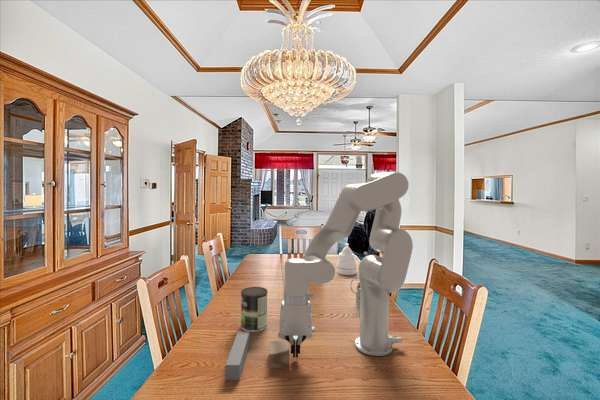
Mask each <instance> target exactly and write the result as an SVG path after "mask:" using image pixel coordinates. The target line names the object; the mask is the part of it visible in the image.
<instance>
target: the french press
mask: <svg viewBox="0 0 600 400" xmlns="http://www.w3.org/2000/svg"><path fill="white" fill-rule="evenodd" d="M363 255H365V256H364V257H366V256H368V255H369V253H368V252H367V251H363ZM356 278H357V279H358V278H359V273H356V277H354V278H353V279H351V281H350V285H352V283H353V281H355V280H356ZM350 290H351V292H352V293H353V294H355V295H356V296H355V302H354V303H353V304H354V306H355V307H356V308H359V309H360V295H361V293H360V281H359V282H358V283H357V286H356V291H354V290H353V287H350Z"/></svg>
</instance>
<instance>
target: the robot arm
mask: <svg viewBox="0 0 600 400" xmlns="http://www.w3.org/2000/svg"><path fill="white" fill-rule="evenodd" d="M409 184H410V183H409V180H408V178H407V176H406V175H405V174H403V173H402V172H399V171H387V172H377V173H372V174H370V175H369V176H368V177H367V180H366V183H351V184H347V185H345V186H344V187H343V188H342V190H341V191H340V193H339V195H338V196H337V200H336V201H335V204H334V206H333V208H332V209H331V213H330V215H329V217H328V219H327V220H326V223H325V224H324V225H323V226H322V228H320V229H319V230H318V232H317V233H316V234H315V235H314V236H313V238H312V239H311V242H310V243H309V244H308V246H307V249H306V250H305V253H304V254H303V258H299V257H292V258H288V259H286V261H285V263H284V279H283V280H284V283H283V284H284V286H283V288H284V290H283V295H284V296H283V297H284V298H283V300H282V301H281V305H280V314H279V332H278V333H279V335H278V338H280V339H284V340H287V341H288V344H289V345H290V354H292V358H293V359H295V358H296V359H297V358H299V354H301V345H302V343H303V342H304V341H305V340H306V339H307V340H308V339H312V338H313V337H314V336H313V331H312V326H313V316H312V315H313V313H312V305H311V301H310V300H314V297H313V296H314V295H313V294H310V293H309V284H310V283H311V284H327V283H330V282H331V281H332V280H333V279H334V277H335V275H336V268H335V266H334V265H333V263H332V262H331V261H329V260H328V259H326V257H327V254H328V253H329V252H330V250H331V248H332V247H333V246H334V245H335V244H336V243H337V242H340V241H341V240H344V239H345V238H347V237H349V236H350V235H351V233H352V231H353V229H354V227H355V225H356V222H357V220H358V218H359V216H360V214H361V212H371V211H374V210H375V214H374V219H373V222H372V227H371V231H370V235H369V239H368V241H369V245H370V247H371V248H372V250H374V251H376V252H378V253H380V254H382V256H379V255H376V254H368V255H366V257H365V256H363V258H362V259H361V260H360V262H359V264H358V267H357V268H358V269H357V271H358V273H357V274H359V279H358V280H359V282H360V288H359V289H360V294H361V295H360V308H359V336H358V337H356V338H355V340H354V346H355V348H356V349H357V350H358V351H359V352H360V353H363V354H365V355H368V356H374V357H383V356H388V355H390V354H391V353H392V352H393V345H394V344H402V343H403V338H402V337H400V336H397V335H396V334H390V333H389V315H390V314H389V312H390V311H389V310H390V309H389V307H390V296H389V293H390V294H391V293H396V292H398V291H399V290H400V289H401V288H402V287H403V285H404V284H405V280H406V278H407V274H408V270H409V266H410V261H411V258H412V255H413V247H414V246H413V245H414V244H413V239H412V236H411V235H410V233H409V232H408V231H406V230H405V229H403V228H400V224H401V218H402V205H401V204H402V203H401V202H400V199H401V198H403V197H404V196H405V195H406V193H407V192H408V190H409ZM293 336H298V338H297V340H296V342H295V340H294V338H293Z"/></svg>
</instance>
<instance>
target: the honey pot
mask: <svg viewBox="0 0 600 400" xmlns="http://www.w3.org/2000/svg"><path fill="white" fill-rule="evenodd" d="M344 245H345V246H344V247H343V249H342V250H341V252H339V253H338V255H339V257H338V258H337V262H336V273H337V274H340V275H344V276H345V275H346V276H347V275H348V276H353V275H357V274H358V273H357V271H358V269H357V268H358V267H357V266H358V264H357V262H356V258H355V253H353V251H352V249H351V248H350V246H349V245H350V244H349V243H345V242H344Z"/></svg>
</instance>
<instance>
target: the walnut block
mask: <svg viewBox="0 0 600 400" xmlns="http://www.w3.org/2000/svg"><path fill="white" fill-rule="evenodd" d="M268 348H269V349H268V350H269V369H281V368H290V347H289V342H288V341H287V340H286V339H284V340H282V339H281V340H269V347H268Z"/></svg>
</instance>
